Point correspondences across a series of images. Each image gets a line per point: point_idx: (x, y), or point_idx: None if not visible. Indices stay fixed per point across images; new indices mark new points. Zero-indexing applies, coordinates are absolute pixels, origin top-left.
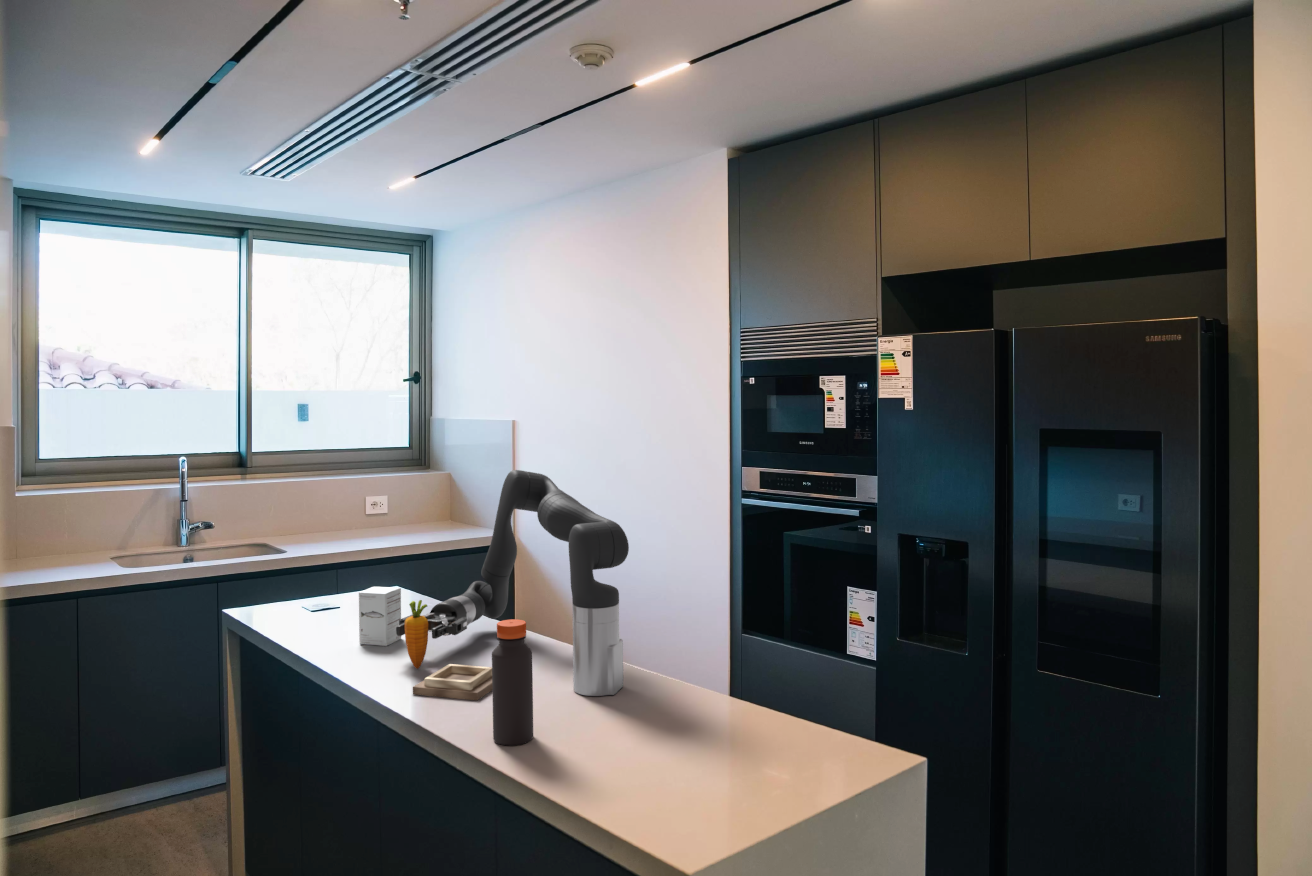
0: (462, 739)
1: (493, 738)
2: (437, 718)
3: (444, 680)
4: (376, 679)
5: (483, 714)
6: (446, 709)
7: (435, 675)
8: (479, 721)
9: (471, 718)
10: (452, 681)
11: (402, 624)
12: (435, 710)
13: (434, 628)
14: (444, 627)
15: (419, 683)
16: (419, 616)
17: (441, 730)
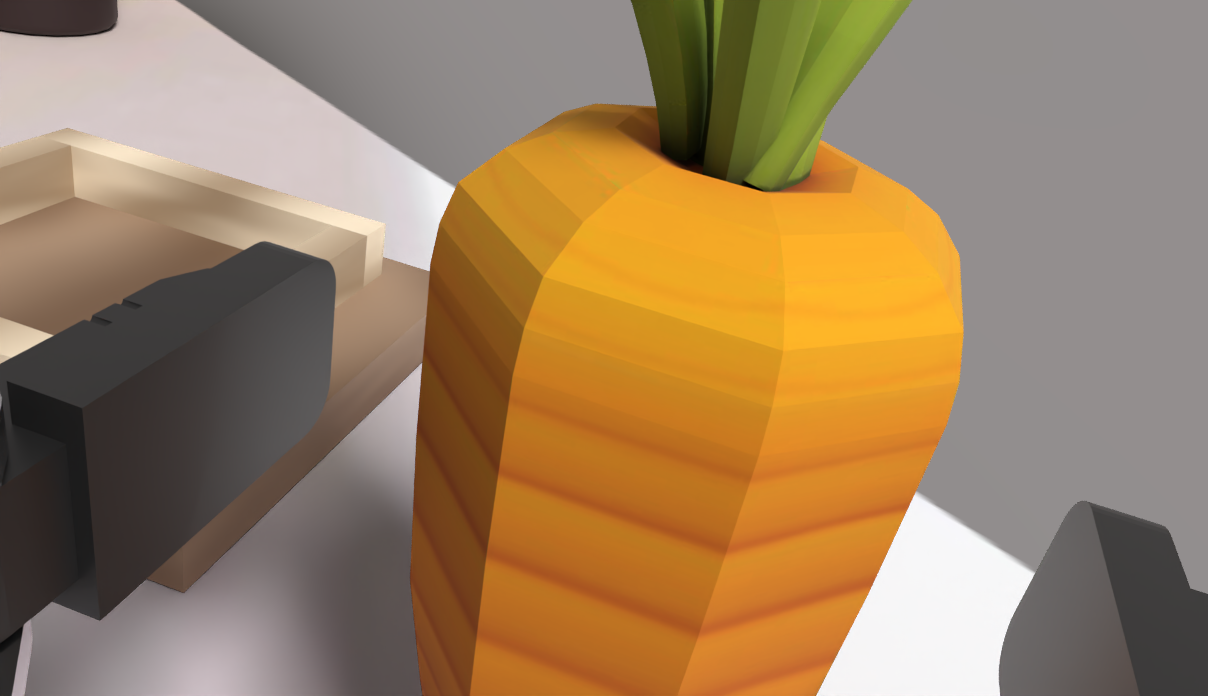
0: (223, 53)
1: (117, 14)
2: (304, 141)
3: (239, 182)
4: (873, 626)
5: (76, 116)
6: (252, 177)
7: (299, 249)
8: (119, 93)
9: (147, 111)
10: (184, 166)
11: (1149, 605)
12: (310, 182)
13: (283, 251)
14: (14, 366)
15: (422, 310)
16: (661, 139)
17: (293, 93)
